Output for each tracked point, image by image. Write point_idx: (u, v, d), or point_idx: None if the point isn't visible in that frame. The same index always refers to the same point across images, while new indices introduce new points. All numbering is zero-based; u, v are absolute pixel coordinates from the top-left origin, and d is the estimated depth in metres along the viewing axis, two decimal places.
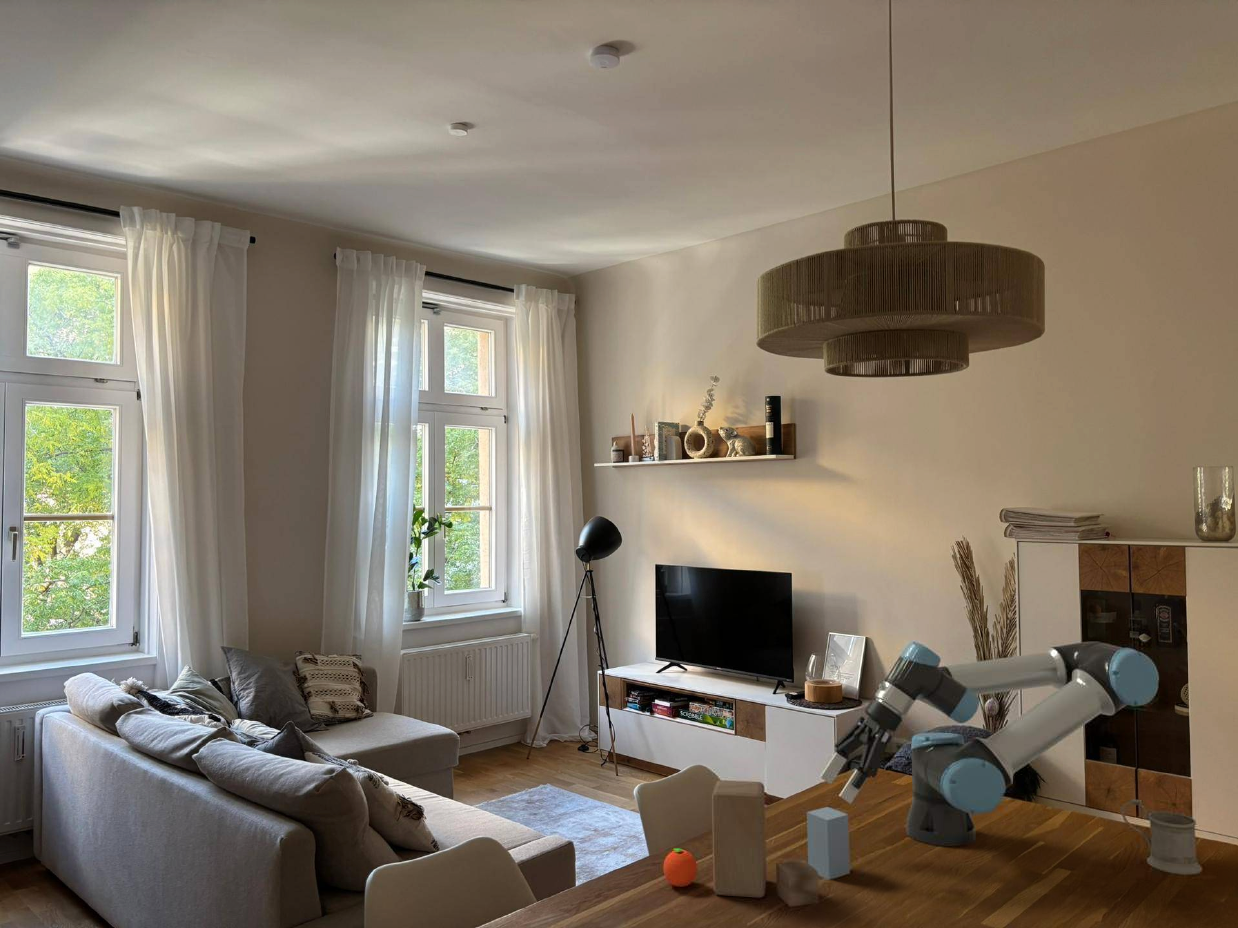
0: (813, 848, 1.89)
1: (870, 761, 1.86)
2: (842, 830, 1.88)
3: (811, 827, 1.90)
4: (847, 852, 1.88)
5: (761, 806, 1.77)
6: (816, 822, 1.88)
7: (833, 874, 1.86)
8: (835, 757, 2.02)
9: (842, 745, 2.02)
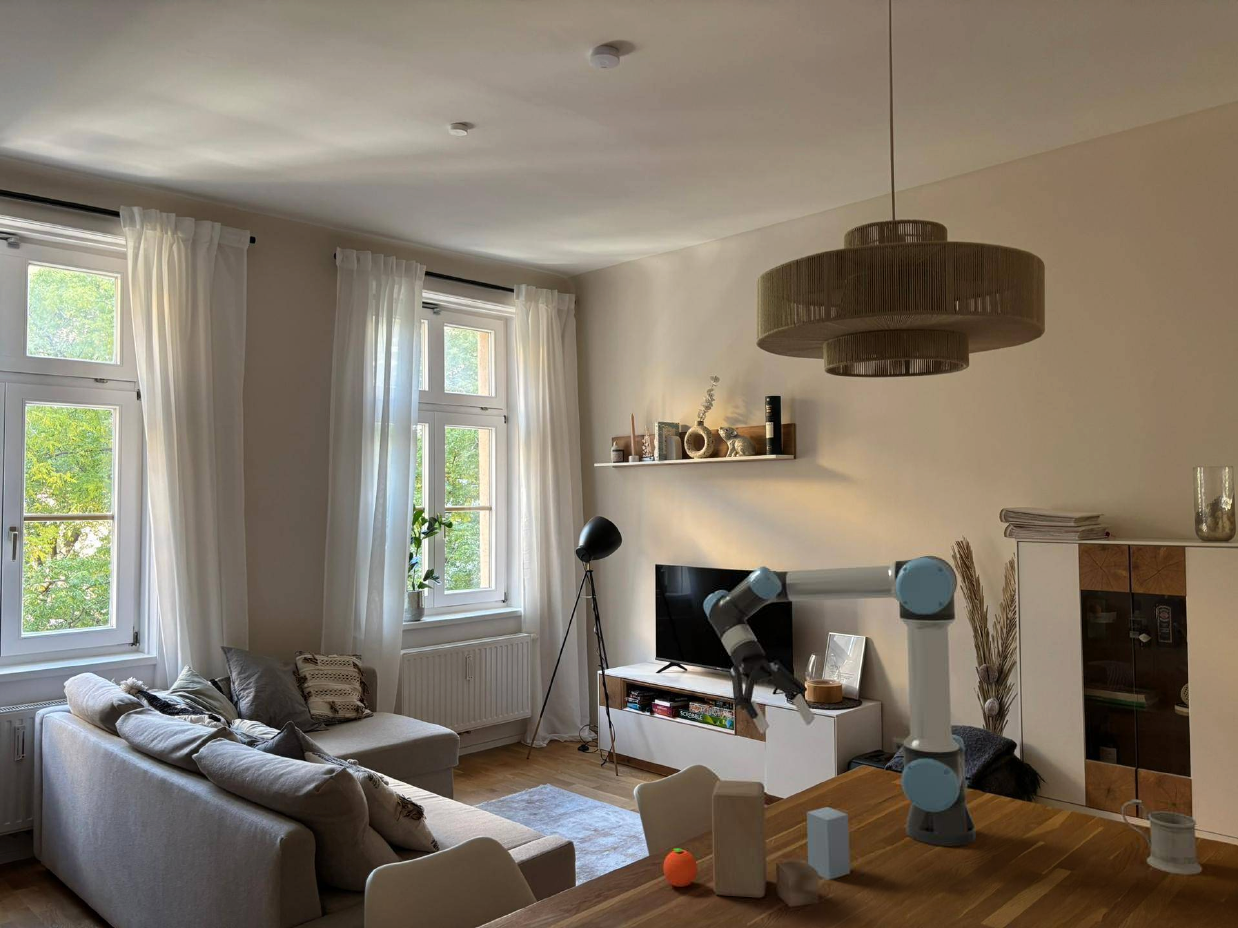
0: (813, 848, 1.89)
1: (734, 696, 2.02)
2: (842, 830, 1.88)
3: (811, 827, 1.90)
4: (847, 852, 1.88)
5: (761, 806, 1.77)
6: (816, 822, 1.88)
7: (833, 874, 1.86)
8: (795, 704, 2.07)
9: None
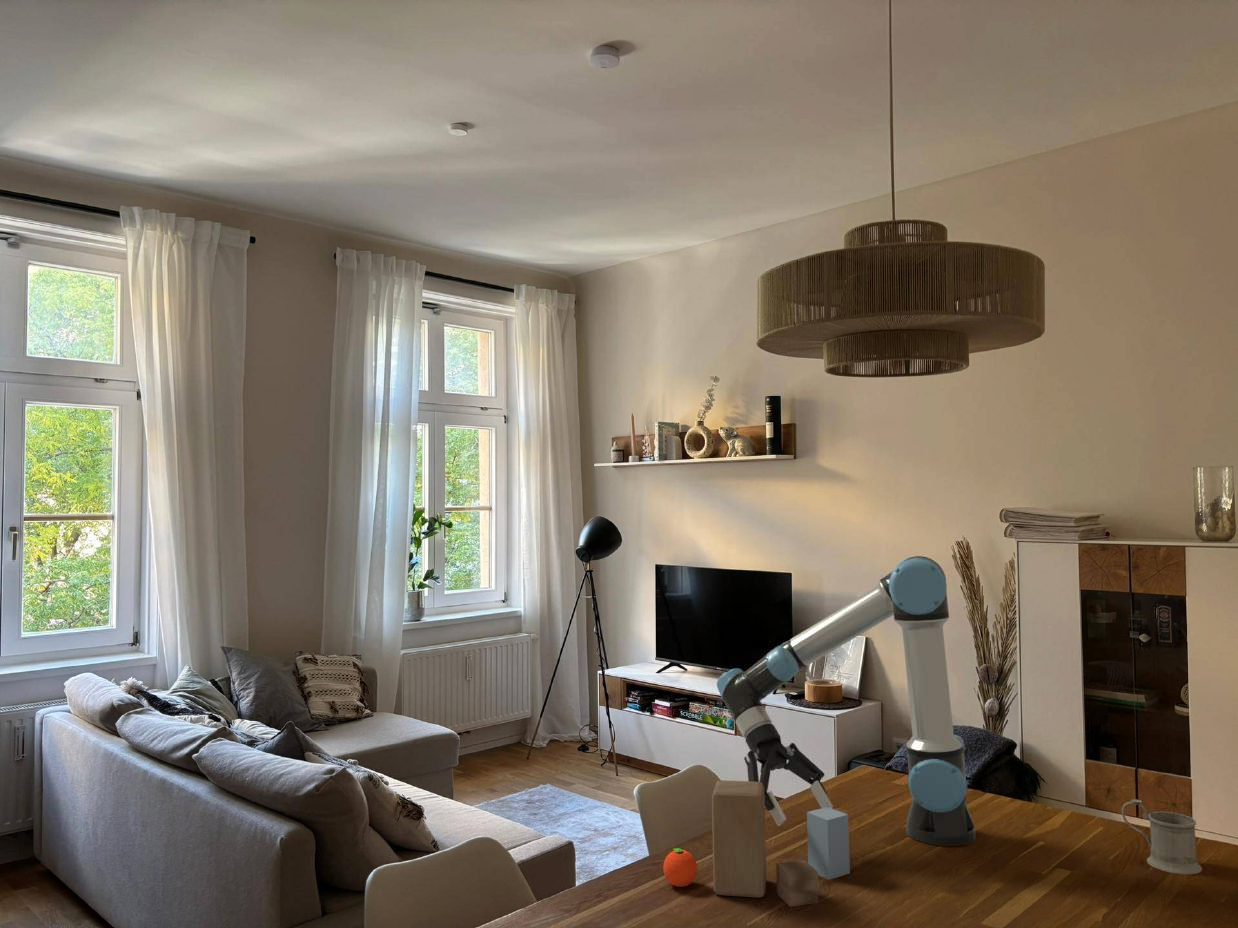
0: (813, 848, 1.89)
1: None
2: (842, 830, 1.88)
3: (811, 827, 1.90)
4: (847, 852, 1.88)
5: (761, 806, 1.77)
6: (816, 822, 1.88)
7: (833, 874, 1.86)
8: (812, 790, 2.02)
9: None
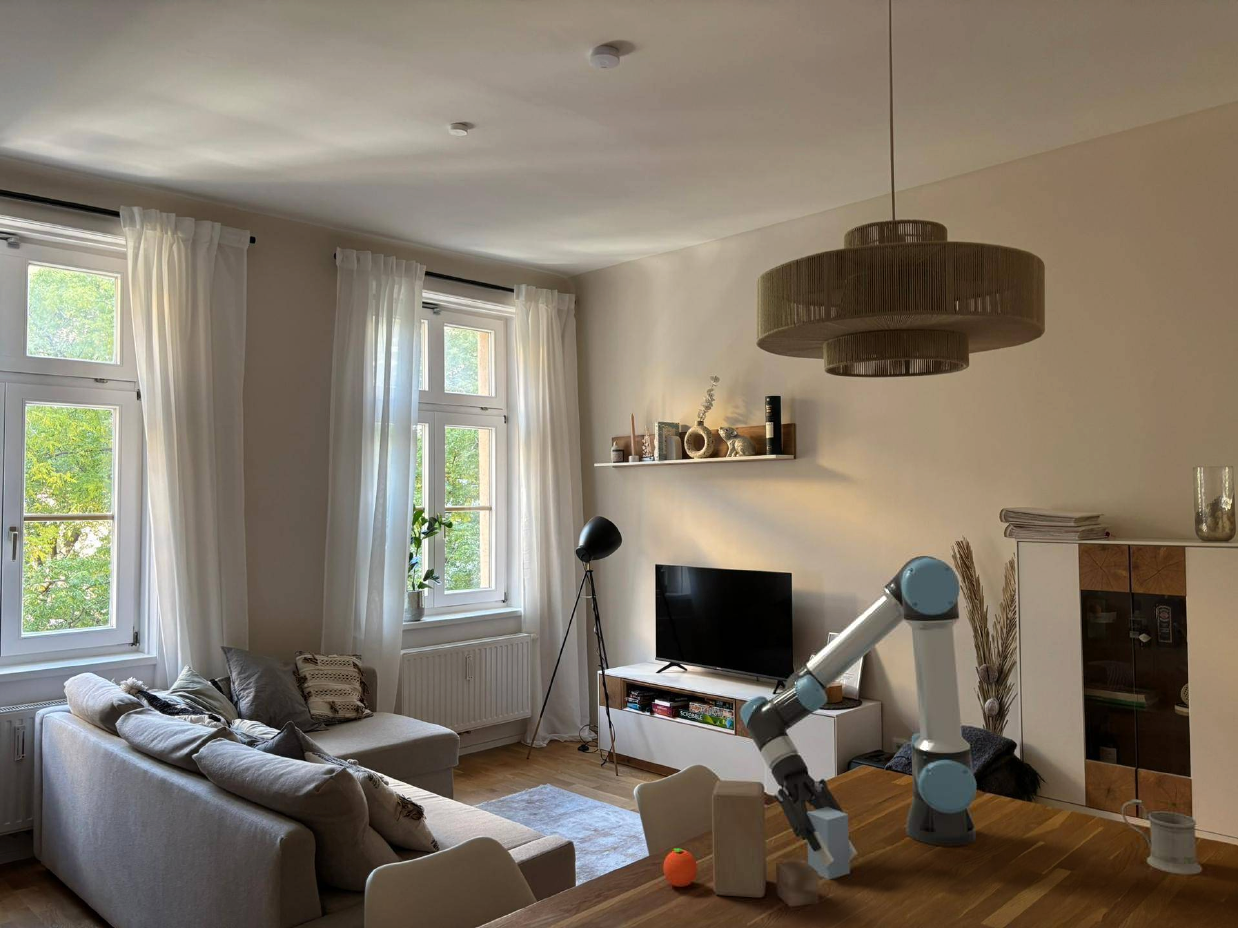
0: None
1: (792, 826, 1.89)
2: (842, 829, 1.88)
3: None
4: (847, 852, 1.88)
5: (761, 806, 1.77)
6: (816, 822, 1.88)
7: (833, 874, 1.86)
8: None
9: None
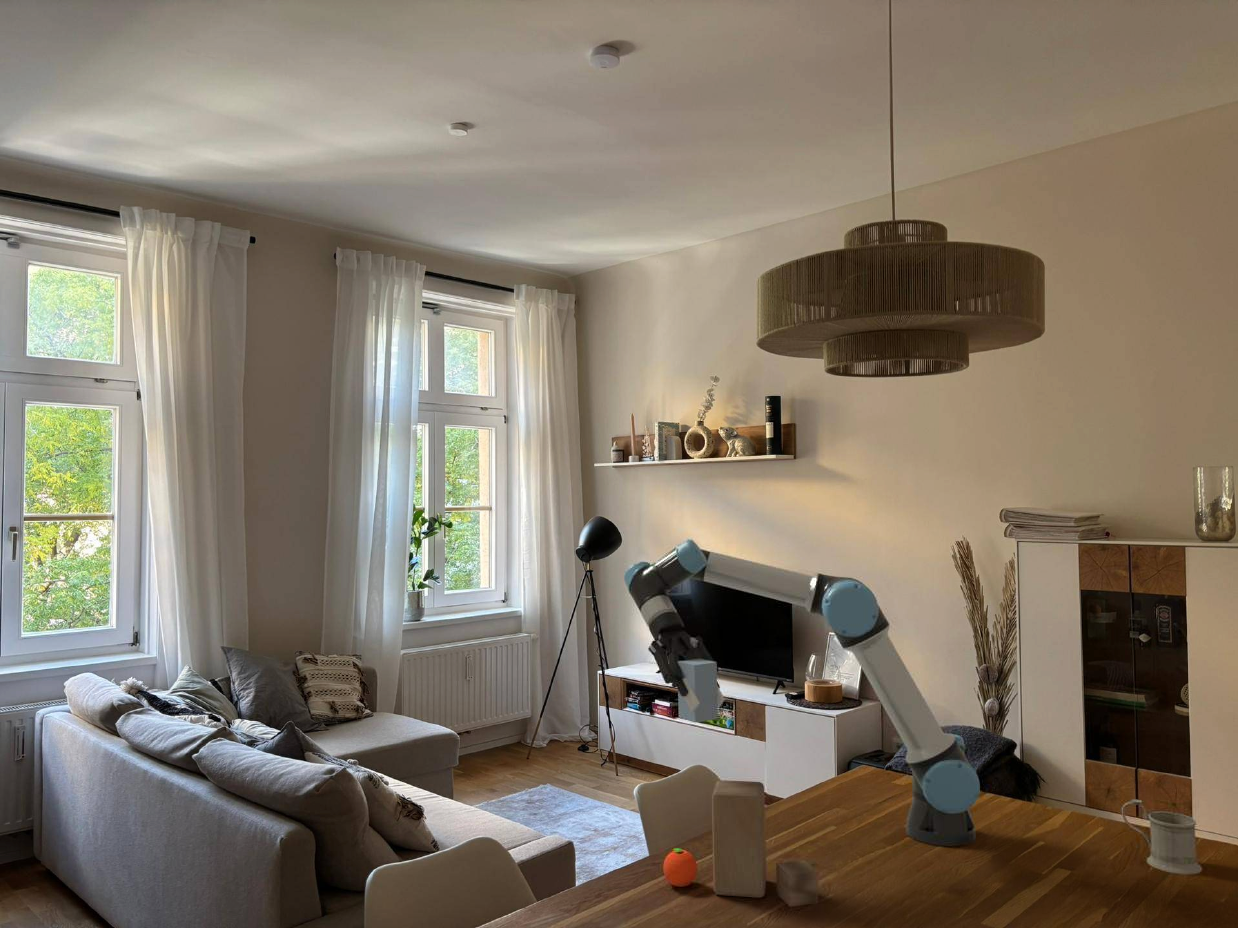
0: None
1: (662, 674, 1.95)
2: (710, 676, 1.93)
3: None
4: (715, 698, 1.94)
5: (761, 806, 1.77)
6: (685, 669, 1.94)
7: (700, 718, 1.91)
8: None
9: None
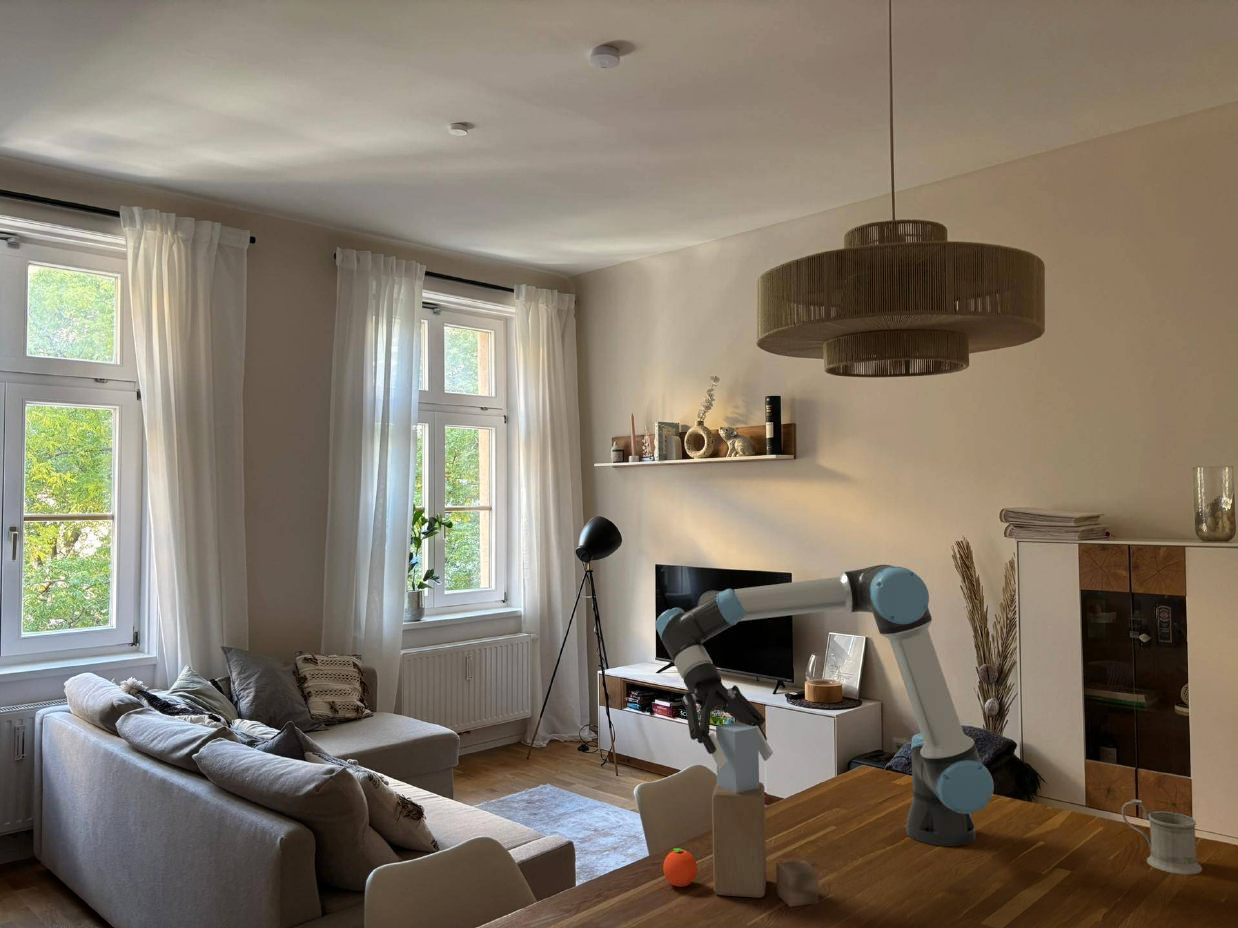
0: None
1: (689, 729, 1.83)
2: (751, 743, 1.82)
3: (720, 741, 1.83)
4: (756, 766, 1.82)
5: (761, 806, 1.77)
6: (724, 735, 1.82)
7: (741, 788, 1.80)
8: None
9: None
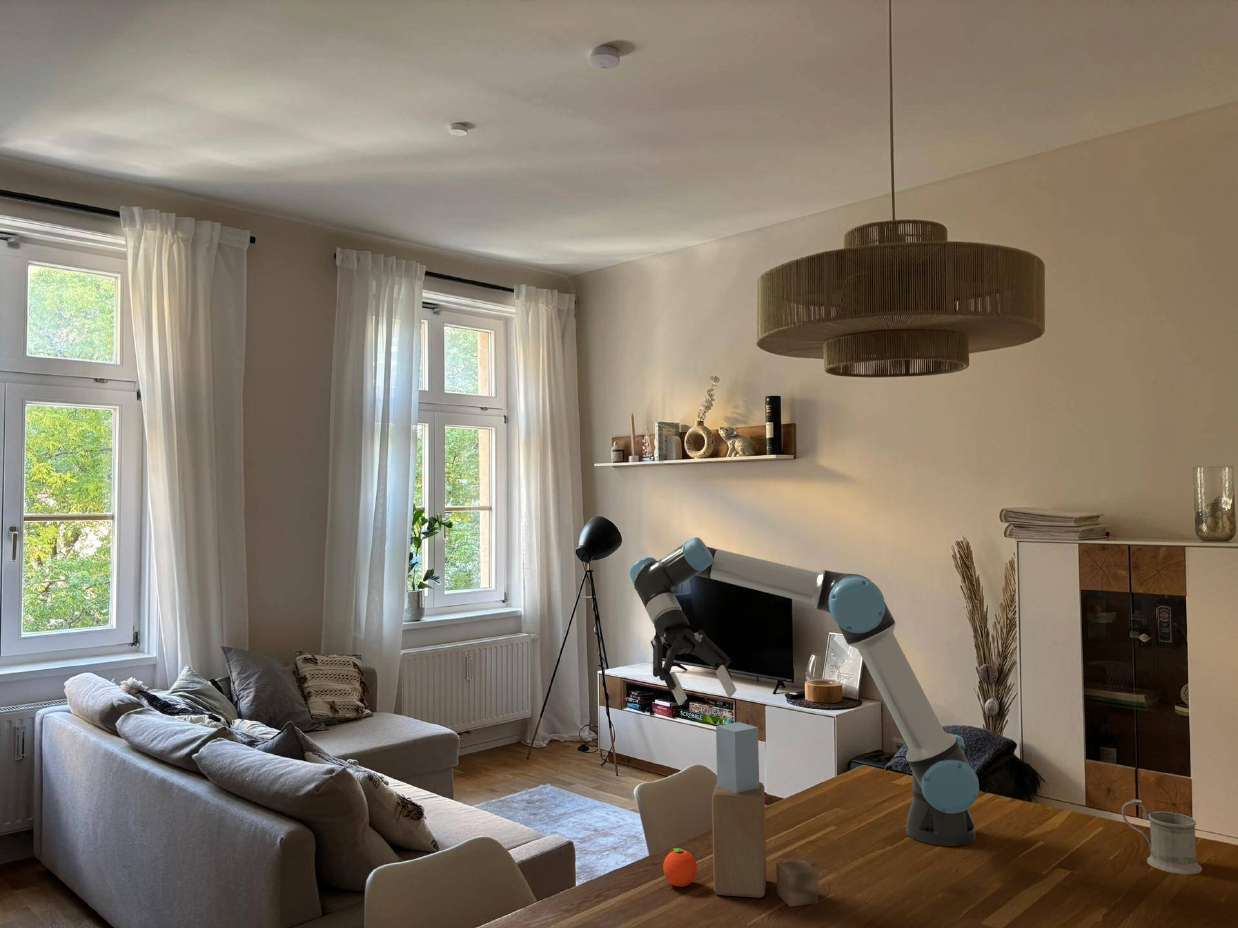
0: (722, 763, 1.83)
1: (653, 667, 1.96)
2: (751, 743, 1.82)
3: (720, 741, 1.83)
4: (756, 766, 1.82)
5: (761, 806, 1.77)
6: (724, 735, 1.82)
7: (741, 788, 1.80)
8: (718, 675, 2.02)
9: None
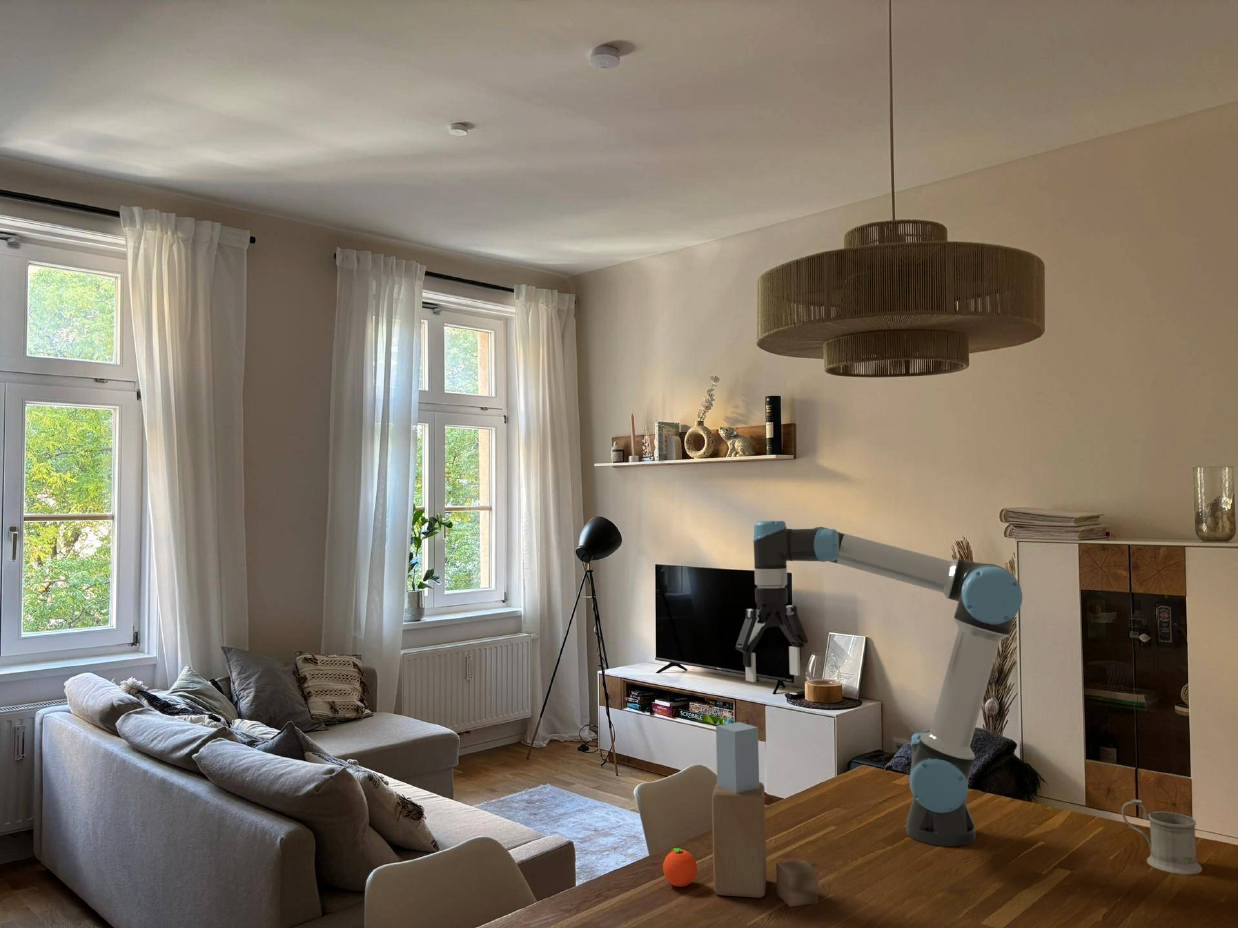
0: (722, 763, 1.83)
1: (738, 639, 2.07)
2: (751, 743, 1.82)
3: (720, 741, 1.83)
4: (756, 766, 1.82)
5: (761, 806, 1.77)
6: (724, 735, 1.82)
7: (741, 788, 1.80)
8: (790, 650, 2.15)
9: None
